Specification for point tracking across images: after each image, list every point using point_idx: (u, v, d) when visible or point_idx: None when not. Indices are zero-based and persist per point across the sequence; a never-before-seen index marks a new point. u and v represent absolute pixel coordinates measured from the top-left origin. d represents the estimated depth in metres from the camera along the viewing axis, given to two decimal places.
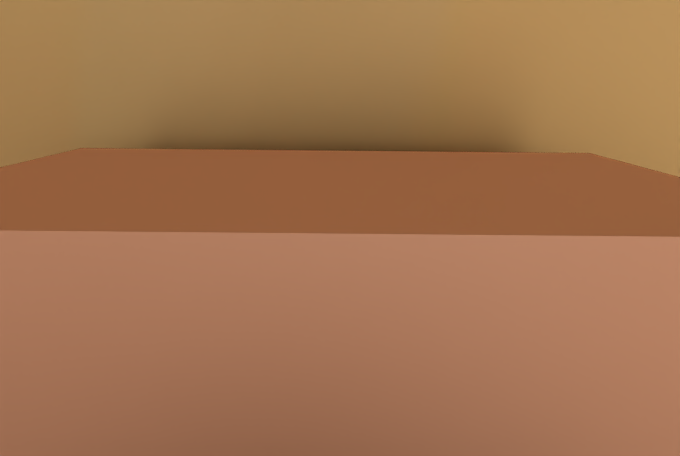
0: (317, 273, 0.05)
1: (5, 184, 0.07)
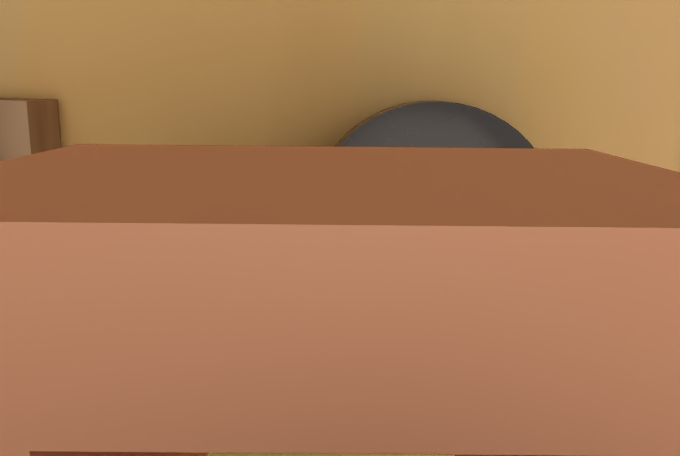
0: (310, 264, 0.05)
1: (0, 178, 0.07)
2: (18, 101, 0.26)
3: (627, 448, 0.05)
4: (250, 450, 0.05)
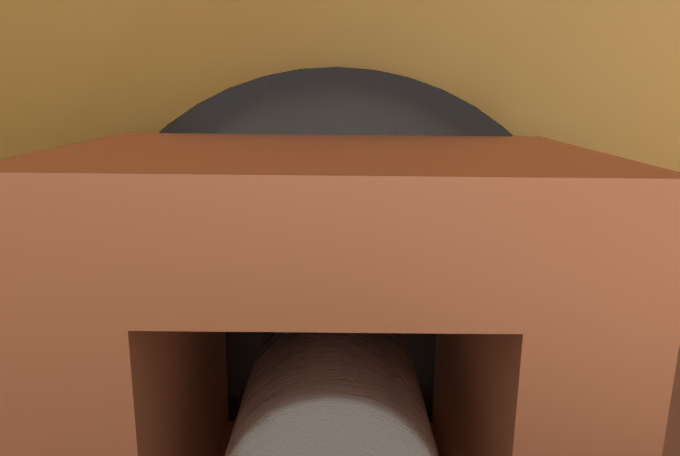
0: (317, 202, 0.07)
1: (88, 152, 0.09)
2: None
3: (530, 329, 0.07)
4: (276, 331, 0.07)
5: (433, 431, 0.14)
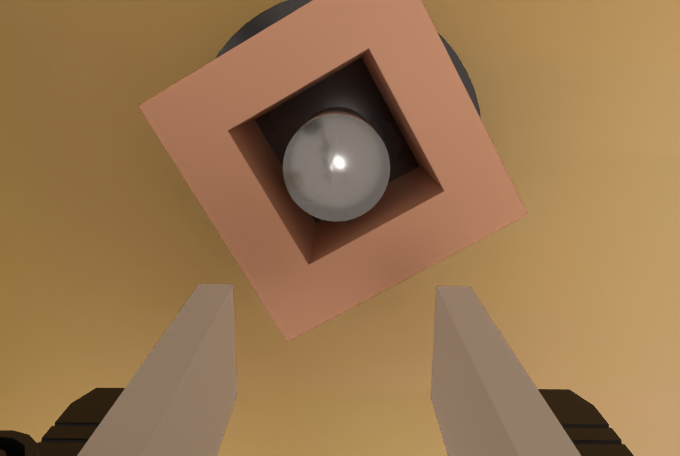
0: (454, 91, 0.18)
1: None
2: None
3: (447, 192, 0.19)
4: (398, 103, 0.18)
5: (315, 224, 0.25)
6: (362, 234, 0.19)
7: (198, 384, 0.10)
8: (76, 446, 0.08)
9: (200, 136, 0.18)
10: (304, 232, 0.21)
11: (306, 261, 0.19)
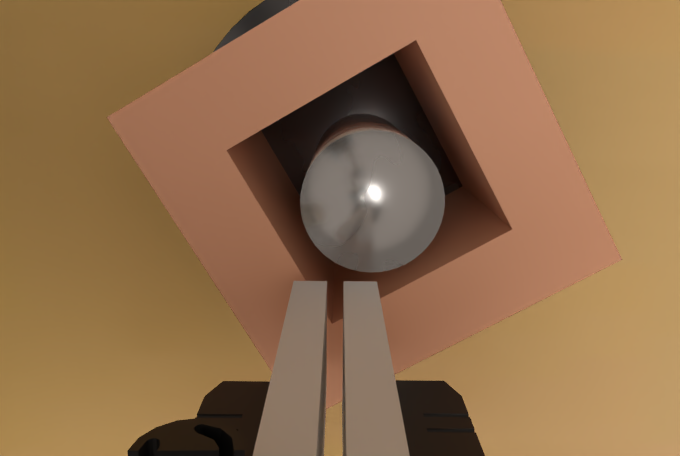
0: (529, 98, 0.13)
1: None
2: None
3: (516, 230, 0.14)
4: (453, 114, 0.14)
5: None
6: (402, 284, 0.15)
7: (323, 377, 0.10)
8: None
9: (190, 157, 0.14)
10: (324, 274, 0.17)
11: (329, 318, 0.15)
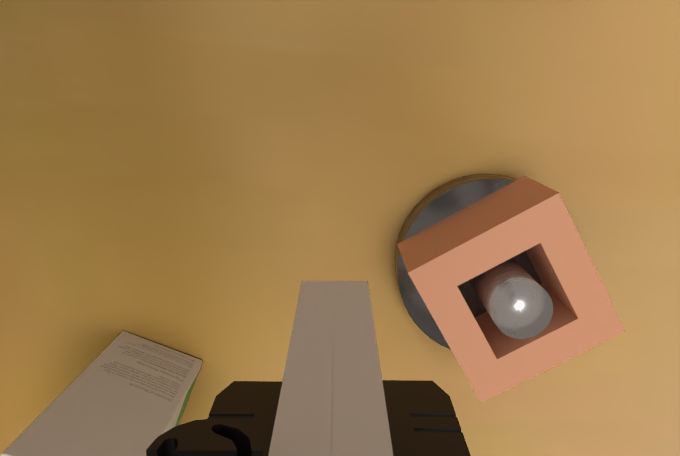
0: (587, 265, 0.32)
1: None
2: None
3: (580, 319, 0.33)
4: (554, 271, 0.32)
5: (474, 320, 0.39)
6: (528, 341, 0.33)
7: None
8: None
9: (441, 289, 0.32)
10: None
11: (495, 357, 0.33)
